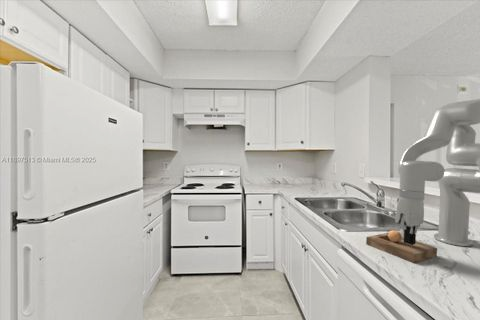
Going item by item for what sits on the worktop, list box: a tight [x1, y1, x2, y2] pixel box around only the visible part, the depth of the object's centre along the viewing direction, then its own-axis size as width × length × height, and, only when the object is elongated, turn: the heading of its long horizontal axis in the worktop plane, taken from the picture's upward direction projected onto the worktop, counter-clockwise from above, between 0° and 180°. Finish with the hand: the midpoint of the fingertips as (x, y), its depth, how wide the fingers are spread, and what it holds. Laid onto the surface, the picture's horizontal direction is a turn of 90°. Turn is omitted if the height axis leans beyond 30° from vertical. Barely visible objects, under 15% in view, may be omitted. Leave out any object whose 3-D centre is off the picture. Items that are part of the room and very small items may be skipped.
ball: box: [387, 229, 402, 242], centre depth 92 cm, size 4×4×4 cm
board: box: [365, 232, 438, 264], centre depth 91 cm, size 14×18×3 cm
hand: (409, 243), depth 88 cm, fingers closed
